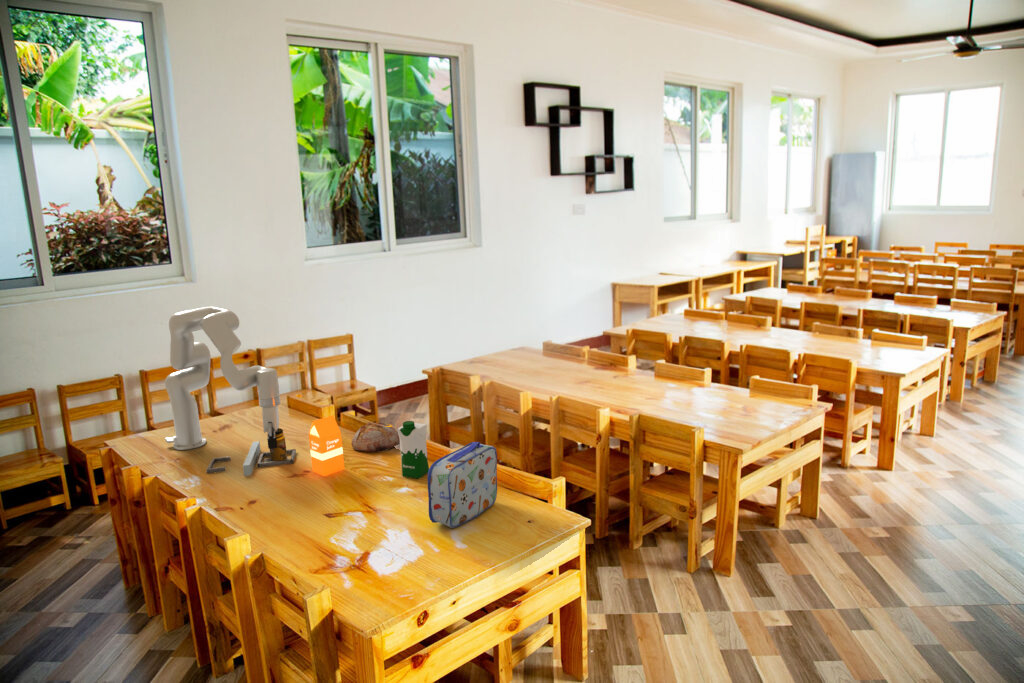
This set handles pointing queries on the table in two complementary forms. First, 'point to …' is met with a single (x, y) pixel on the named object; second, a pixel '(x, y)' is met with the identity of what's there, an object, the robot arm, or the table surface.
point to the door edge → (251, 458)
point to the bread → (375, 438)
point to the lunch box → (462, 484)
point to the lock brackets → (259, 464)
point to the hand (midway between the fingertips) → (274, 443)
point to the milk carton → (413, 449)
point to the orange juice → (326, 446)
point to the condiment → (278, 448)
